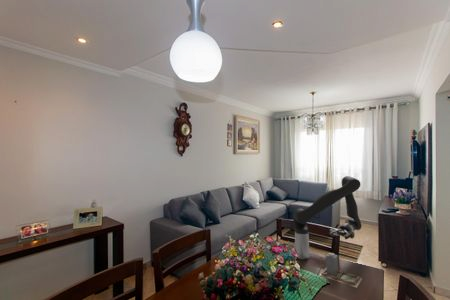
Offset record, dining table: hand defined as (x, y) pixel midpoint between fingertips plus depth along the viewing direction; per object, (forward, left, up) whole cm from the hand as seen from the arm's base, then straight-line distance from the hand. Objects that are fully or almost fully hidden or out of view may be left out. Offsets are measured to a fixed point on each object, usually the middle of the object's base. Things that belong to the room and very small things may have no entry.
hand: (338, 236), depth 147 cm
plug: (0, -12, -19) cm, 23 cm away
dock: (+4, -12, -20) cm, 23 cm away
